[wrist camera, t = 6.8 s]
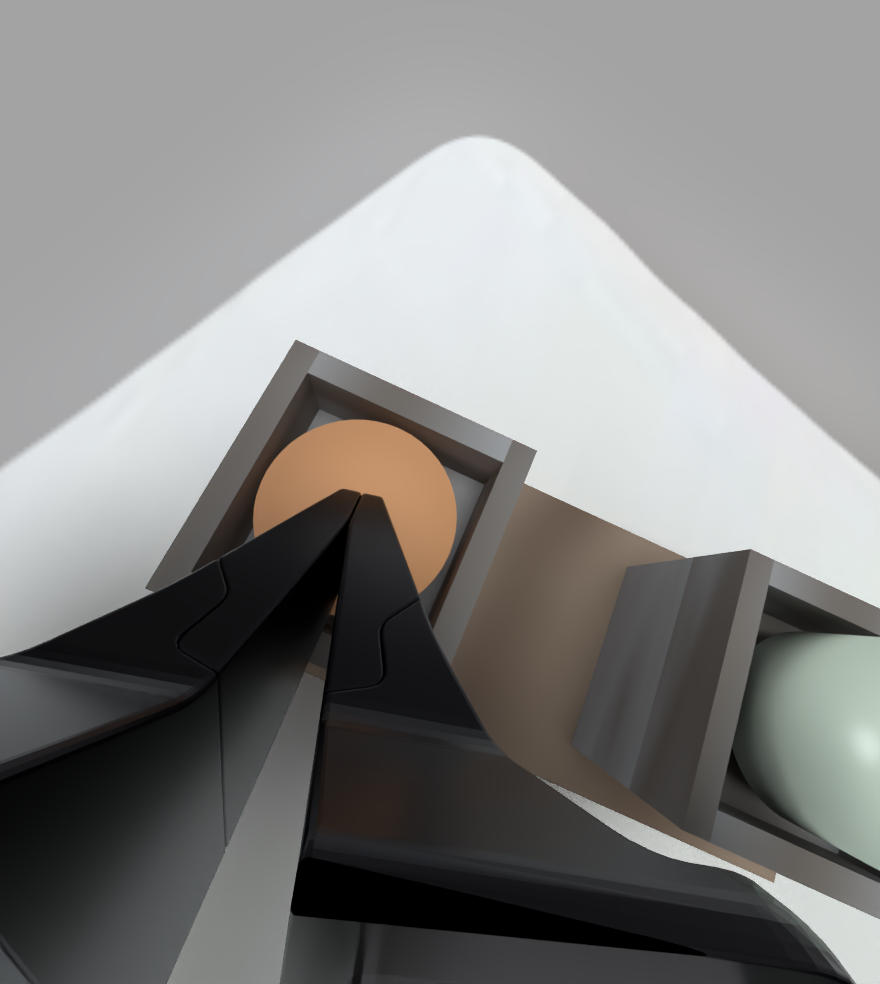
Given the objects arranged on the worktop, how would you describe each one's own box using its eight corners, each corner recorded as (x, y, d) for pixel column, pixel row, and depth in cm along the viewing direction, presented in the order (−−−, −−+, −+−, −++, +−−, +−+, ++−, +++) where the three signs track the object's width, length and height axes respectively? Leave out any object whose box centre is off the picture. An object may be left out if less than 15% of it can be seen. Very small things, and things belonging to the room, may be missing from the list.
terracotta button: (477, 518, 12) (495, 502, 10) (370, 651, 11) (367, 661, 9) (354, 417, 12) (349, 382, 10) (238, 538, 11) (207, 525, 9)
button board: (787, 619, 18) (1038, 630, 11) (737, 856, 15) (1011, 1053, 9) (313, 402, 17) (269, 275, 11) (194, 611, 15) (43, 620, 8)
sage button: (921, 708, 11) (1036, 731, 9) (851, 876, 10) (965, 943, 8) (777, 594, 11) (859, 593, 9) (694, 746, 10) (768, 781, 8)
